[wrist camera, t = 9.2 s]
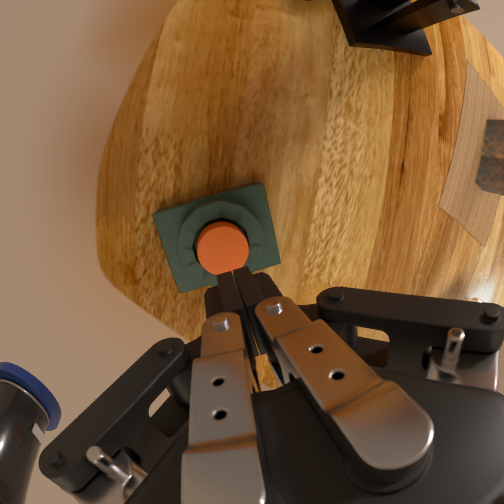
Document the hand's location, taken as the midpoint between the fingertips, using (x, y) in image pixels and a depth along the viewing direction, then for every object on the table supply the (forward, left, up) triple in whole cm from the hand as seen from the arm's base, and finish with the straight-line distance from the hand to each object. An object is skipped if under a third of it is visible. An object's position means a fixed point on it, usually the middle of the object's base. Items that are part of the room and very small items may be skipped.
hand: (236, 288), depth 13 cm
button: (0, 0, -8) cm, 8 cm away
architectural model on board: (+40, +2, -12) cm, 42 cm away
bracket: (+23, +20, -12) cm, 32 cm away
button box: (0, 0, -12) cm, 12 cm away
